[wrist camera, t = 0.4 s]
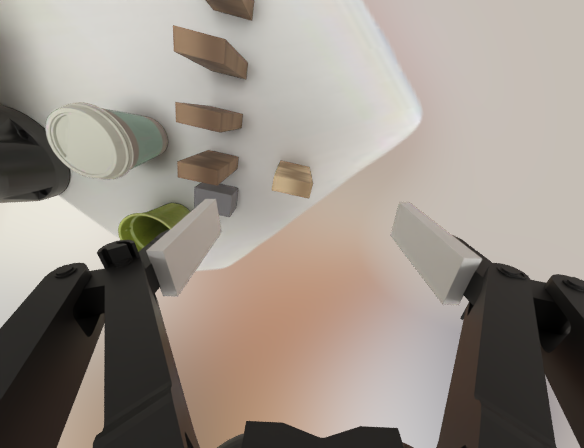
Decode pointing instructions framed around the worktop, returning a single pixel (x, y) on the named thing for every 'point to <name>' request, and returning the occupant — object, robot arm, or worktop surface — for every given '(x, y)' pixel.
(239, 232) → the worktop surface
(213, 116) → the tile
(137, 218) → the plant pot
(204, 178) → the tile
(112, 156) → the coffee cup
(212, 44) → the tile
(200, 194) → the block
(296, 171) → the tile
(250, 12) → the tile
